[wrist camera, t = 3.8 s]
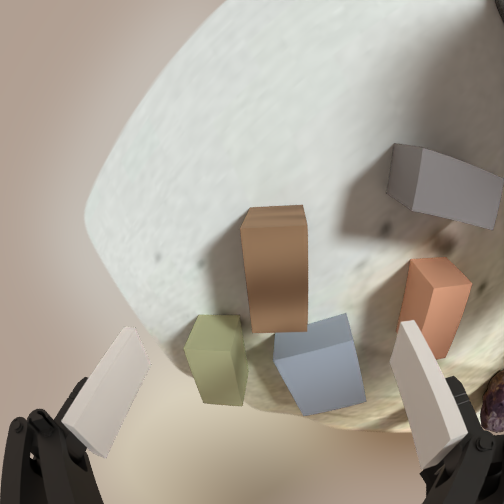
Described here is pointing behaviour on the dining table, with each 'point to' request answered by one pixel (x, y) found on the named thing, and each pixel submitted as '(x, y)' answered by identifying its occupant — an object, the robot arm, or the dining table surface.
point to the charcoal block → (444, 186)
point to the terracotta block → (435, 301)
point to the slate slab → (320, 366)
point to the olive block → (218, 359)
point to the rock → (494, 405)
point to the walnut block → (276, 268)
